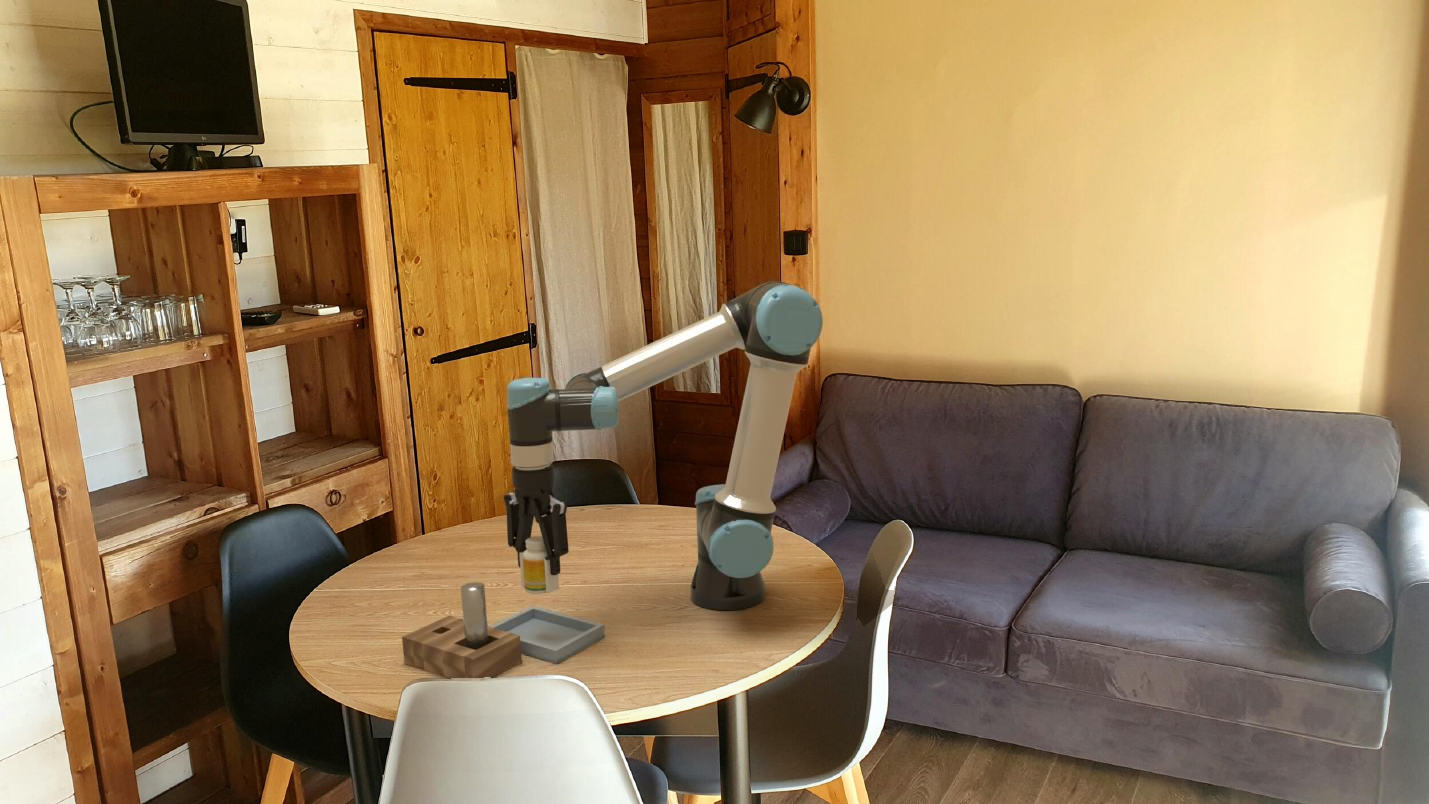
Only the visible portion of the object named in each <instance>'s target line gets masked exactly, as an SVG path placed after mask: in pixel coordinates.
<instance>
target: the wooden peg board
mask: <svg viewBox="0 0 1429 804" xmlns="http://www.w3.org/2000/svg"><path fill="white" fill-rule="evenodd" d="M488 638H489V644H488V645H486V646H484V647H482V648H480V649H478V650H473V649H470V648H467V647H465V635H464V623H463V618H460V617H457V616H453V615H450V614H449V615H447V616H444V617H443V618H440V619H439V620H436V621H434V622H431V623H429V624H428V625H425V626H423V627H421V628H418V629H415V630H414V631H412V632H410V633H407V634H405V635H403V636H401V642H402V653H403V661H404V664H405V665H409V666H412V667H415V668H418V669H421V670H424V671H427V672H430V673H433V674H435V675H438V676H440V677H444V678H448V679H450V678H484V677H493V678H495V677H497V676H499V675H501V674H502V673H504V672H506V671H508V670H510V669H511V668H514V667H515V666H517V665H519V664H521V663H522V662H523V660H522V659H523V658H522V657H523V656H522V654H521V642H520V635H516V634H513V633H509V632H506V631H502V630H499V629H496V628H492V627H490V626H488Z"/></svg>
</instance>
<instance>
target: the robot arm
mask: <svg viewBox="0 0 1429 804" xmlns="http://www.w3.org/2000/svg"><path fill="white" fill-rule="evenodd" d="M823 319H824V318H823V313H822V310H821V307H820V305H819V303H818V302H817V300H816V299H815V298H814V297H813V295H812V294H810V292H808V291H807V290H806V289H804V288H803V287H801V286H796V285H794V284H789V283H787V282H783V281H778V280H774V281H768V282H764V283H762V284H759V285H757V286H756V287H753V288H752V289H750V290H748V291H746V292H745V293H742V294H740V295H738V296H737V297H735V298H733V299H731V300H729V301H727V302H725V303H723V304H721V308H720V310H719V311H718V312H716V313H713V314H711V315H709V316H707V317H705V318H703V319H701V320H698V321H696V322H694V323H692V324H690V325H687V326H686V327H683V328H681V329H679V330H677V331H675V332H672V333H670V334H668V335H666V336H664V337H662V338H659V339H657V340H655V341H653V342H650V343H649V344H647V345H644V346H642V347H640V348H638V349H635V350H634V351H632V352H629V353H627V354H625V355H623V356H621V357H619V358H617V359H615V360H612V361H610V362H607V363H606V364H602V366H600V367H597V368H594V369H592V370H590V371H589V372H580V373H577V374H575V375H573V376H572V377H571V378H569V380H568V381H567V383H566V385H565V387H564V388H562V389H558V388H557V389H556V388H552V387H551V386H550V381H549V380H548V379H547V378H544V377H543V378H542V377H524V378H518V379H514V380H512V381H510V382H509V384H508V385H507V387H506V393H507V396H506V397H507V398H506V399H507V402H506V403H507V405H506V406H507V407H506V408H507V420H508V432H509V445H510V446H509V447H510V462H511V463H510V464H511V465H512V466H513V467H512V468H511V480H512V481H511V482H512V487H513V488H514V489H515V491H513V492H510V493H507V494H505V495H503V501H504V503H505V508H506V527H507V528H506V529H507V533H506V534H507V545H508V546H509V547H511V548H512V547H513V548H514V549H515V551H516V552H517V566H518V567H519V568H520V583H521V587H522V588H525V584H524V567H523V553H524V551H525V550H527V548H526V539H528V538H530V537H532V530H533V523H534V520H535V522H536V523H537V524H538V526H539V530H540V534H541V536H542V538H543V542H544V545H545V549H546V553H547V557H545V558H544V567H545V584H546V593H545V594H551V593H554V592H555V591H557V590H559V589H560V579H559V577H560V576H559V574H561V557H563V556H565V555H568V553H569V540H568V538H569V537H568V528H567V527H568V526H567V515H566V514H567V509H568V503H567V501H566V500H563V501H560V500H558V499H556V496H555V494H554V490H553V488H554V486H555V483H556V478H555V477H556V474H555V465H554V464H553V462H554V444H553V443H554V442H553V440H554V439H553V432H565V431H566V432H567V431H590V430H598V431H601V430H604V429H605V430H606V429H612V428H616V427H617V426H618V425H619V421H620V417H619V413H620V412H619V410H620V409H619V402H621V401H622V400H625V399H627V398H629V397H631V396H633V395H636V394H637V393H640V392H642V391H644V390H647V389H649V388H650V387H652V386H655V385H657V384H659V383H662V382H663V381H664V382H665V381H666V380H668V379H670V378H672V377H675V376H677V375H679V374H681V373H683V372H685V371H688V370H690V369H691V368H694V367H697V366H699V365H701V364H703V363H705V362H707V361H710V360H711V359H714V358H716V357H718V356H720V355H722V354H724V353H727V352H729V351H731V350H733V349H741V350H743V351H744V354H745V356H746V357H747V358H748V360H749V362H750V366H749V371H748V376H747V381H746V385H745V390H744V393H743V398H742V399H743V400H742V404H741V410H740V414H739V420H738V424H737V428H736V432H735V437H734V442H733V447H732V451H731V452H732V453H731V457H730V462H729V467H728V471H727V475H726V481H725V484H724V483H722V484H713V485H708V486H703V487H701V488H699V489H697V491H696V493H695V501H694V505H695V507H696V508H695V509H696V510H695V511H696V535H697V536H696V538H697V539H696V540H697V541H696V542H697V563H696V567H695V570H694V574H693V576H692V577H693V578H692V581H691V584H690V600H691V601H692V603H694V604H695V605H697V606H698V607H702V608H704V609H710V610H716V611H734V610H735V611H736V610H742V609H747V608H750V607H755V606H756V605H758V604H760V603H762V601H764V599H765V598H766V585H765V581H764V579H763V576H762V573H761V572H762V571H763V570H764V569H765V568H766V567H767V566H768V565H769V563H770V562H771V560H772V557H773V554H774V538H773V535H772V534H771V533H772V529H773V525H774V519H775V514H776V511H777V507H776V505H775V504H774V502H773V501H772V499H771V495H772V490H773V485H774V481H775V477H776V473H777V471H776V470H777V467H778V461H779V457H780V452H781V448H782V445H783V439H784V434H785V430H786V425H787V422H788V417H789V411H790V407H791V402H792V398H793V393H794V389H795V384H796V379H797V375H798V373H799V372H800V371H801V370H803V369H804V368H806V367H808V363H809V359H810V358H809V357H810V356H811V350H812V347H813V346H814V345H815V344H816V343H817V341H818V340H819V338H820V336H821V334H822V330H823V325H824V324H823V323H824V321H823Z"/></svg>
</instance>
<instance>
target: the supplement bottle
mask: <svg viewBox="0 0 1429 804" xmlns="http://www.w3.org/2000/svg"><path fill="white" fill-rule="evenodd" d="M526 548H527V550H525V551H524V553H523V567H524V584H525V587H524V590H525V592H527V593H529V594H532V595H542V594H543V595H544V594H547V593H546V584H545V567H544V558H545V557H547V553H546V549H545V545H544V542H543V538H542V535H540V536H539V535H536V536H531V537H530V538H528V539H526Z"/></svg>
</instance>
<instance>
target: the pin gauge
mask: <svg viewBox="0 0 1429 804" xmlns="http://www.w3.org/2000/svg"><path fill="white" fill-rule="evenodd" d="M460 596H461V598H460V599H461V609H462V610H461V611H462V619H463V623H464V635H465V647H467V648H470V649H473V650H478V649H480V648H482V647H484V646H486V645H488V644H489V638H488V615H487V614H488V613H487V602H486V601H487V599H486V588H485V584H484V583H482V582H478V581H477V582H469V583H465V584H463V585H461V586H460Z"/></svg>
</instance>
